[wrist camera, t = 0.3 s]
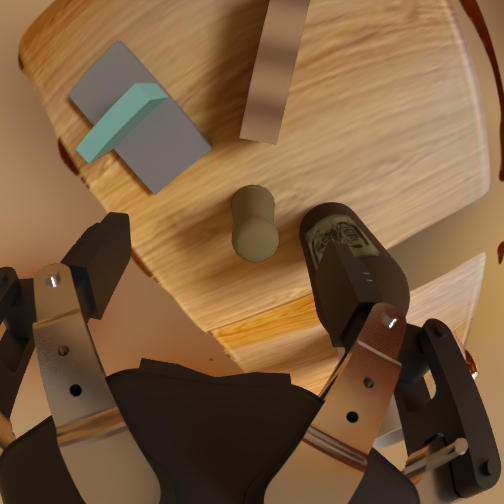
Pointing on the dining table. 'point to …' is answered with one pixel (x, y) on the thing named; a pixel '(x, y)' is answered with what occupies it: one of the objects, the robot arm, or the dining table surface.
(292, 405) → the robot arm
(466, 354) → the beer glass
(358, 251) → the olive oil
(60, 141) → the dining table surface
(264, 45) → the walnut bar
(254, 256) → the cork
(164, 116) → the balance stand
